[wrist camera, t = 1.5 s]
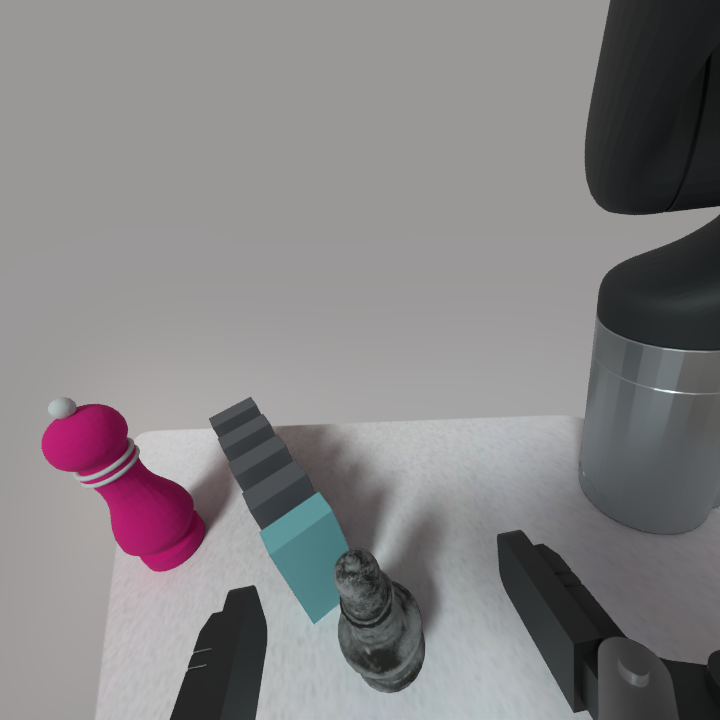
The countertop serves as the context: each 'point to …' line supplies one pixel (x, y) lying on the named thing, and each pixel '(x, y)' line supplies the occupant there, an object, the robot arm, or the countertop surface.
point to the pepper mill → (123, 483)
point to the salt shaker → (377, 623)
